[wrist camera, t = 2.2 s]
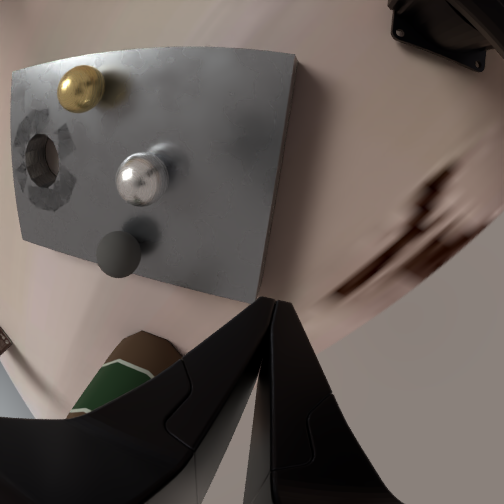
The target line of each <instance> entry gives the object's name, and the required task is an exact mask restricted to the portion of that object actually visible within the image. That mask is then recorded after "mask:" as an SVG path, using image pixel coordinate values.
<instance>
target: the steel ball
mask: <svg viewBox="0 0 504 504" xmlns="http://www.w3.org/2000/svg"><path fill="white" fill-rule="evenodd" d="M168 182H169V175H168V170H167V168H166V166H165V164H164V162H163V161H162V160H161V159H160V158H158V157H157V156H155V155H153V154H150V153H144V152H141V153H136V154H133V155H131V156H129V157H127V158H126V159H125V160H124V161H123V162H122V163H121V165H120V166H119V168H118V170H117V173H116V178H115V183H116V188H117V191H118V193H119V195H120V197H121V198H122V199H123V200H124V201H125V202H127V203H129V204H130V205H133V206H137V207H145V206H149V205H152V204H154V203H155V202H157V201H158V200H159V199H160V198H161V197H162V196H163V195H164V193H165V192H166V189H167V187H168Z"/></svg>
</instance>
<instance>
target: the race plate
mask: <svg viewBox="0 0 504 504" xmlns="http://www.w3.org/2000/svg"><path fill="white" fill-rule="evenodd" d="M297 64H298V60H297V58H296V56H295V54H288V53H280V52H272V51H263V50H253V49H240V48H223V47H159V48H142V49H130V50H120V51H111V52H103V53H96V54H90V55H83V56H77V57H72V58H67V59H62V60H57V61H52V62H48V63H44V64H39V65H35V66H31V67H28V68H24V69H20V70H17V71H14V72H12V86H11V153H12V167H13V178H14V187H15V196H16V203H17V210H18V216H19V222H20V228H21V233H22V238H23V240H25V241H28V242H31V243H34V244H37V245H40V246H43V247H46V248H49V249H52V250H55V251H59V252H62V253H65V254H68V255H71V256H75V257H78V258H81V259H84V260H88V261H91V262H94V263H98V262H97V258H96V250H97V246H98V244H99V242H100V241H101V239H102V238H103V237H104V236H105V235H107V234H108V233H110V232H113V231H124V232H127V233H129V234H131V235H132V236H133V237H134V238H135V239H136V240H137V241H138V243H139V245H140V249H141V260H140V263H139V266H138V267H137V269H136V270H135V271H134V272H133V273H132V274H136V275H139V276H143V277H147V278H150V279H154V280H158V281H162V282H165V283H169V284H173V285H177V286H181V287H184V288H188V289H192V290H196V291H200V292H204V293H208V294H212V295H216V296H220V297H225V298H229V299H233V300H237V301H241V302H246V303H250V304H252V303H253V302H254V301H256V298H257V295H258V292H259V289H260V286H261V282H262V276H263V270H264V265H265V259H266V253H267V247H268V242H269V236H270V230H271V224H272V218H273V213H274V207H275V201H276V195H277V189H278V183H279V177H280V171H281V165H282V159H283V153H284V146H285V140H286V134H287V128H288V122H289V115H290V109H291V103H292V96H293V90H294V83H295V77H296V70H297ZM79 65H90V66H93V67H95V68H97V69H98V70H99V71H100V72H101V73H102V75H103V77H104V80H105V91H104V95H103V97H102V99H101V100H100V102H99V103H98V104H97V105H96V106H95V107H94V108H93V109H91V110H89V111H87V112H84V113H71V112H69V111H67V110H65V109H64V108H63V107H62V106H61V105H60V103H59V101H58V98H57V88H58V84H59V82H60V80H61V78H62V77H63V75H64V74H65V73H66V72H67V71H69V70H70V69H72V68H73V67H76V66H79ZM48 137H49V138H50V139H51V140H52V141H53V142H54V145H55V148H56V150H57V153H58V156H59V172H58V175H57V177H56V176H55V175H54V174H53V173H51V172H50V170H49V167H48V165H47V163H46V160H45V145H46V142H47V139H48ZM141 152H144V153H150V154H153V155H155V156H157V157H158V158H160V159H161V160H162V161H163V162H164V164H165V166H166V168H167V170H168V175H169V182H168V187H167V189H166V192H165V193H164V195H163V196H162V197H161V198H160V199H159V200H158V201H157V202H155V203H154V204H152V205H149V206H145V207H137V206H133V205H130V204H129V203H127V202H125V201H124V200H123V199H122V198H121V197H120V195H119V193H118V191H117V188H116V183H115V178H116V173H117V170H118V168H119V166H120V165H121V163H122V162H123V161H124V160H125V159H126V158H127V157H129V156H131V155H133V154H136V153H141Z"/></svg>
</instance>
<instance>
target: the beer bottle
mask: <svg viewBox="0 0 504 504" xmlns="http://www.w3.org/2000/svg"><path fill="white" fill-rule="evenodd" d="M179 359H182V356H181V355H180V354H179V352H178V351H177V350H176V349H175V348H174V347H173V346H172V345H171V344H170V343H169V342H168V340H166V339H163V338H160V337H158V336H155V335H152V334H149V333H147V332H144V331H140V332H138V333H136V334H133V335H131V336H129V337H126V338H124V339H123V340H122V341H121V342H120V343H119V345H118V346H117V347H116V348H115V349H114V351H113V352H112V353H111V355H110V356H109V357H108V359H107V360H106V362H105V363H104V364H103V366H102V367H101V368H100V370H99V371H98V373H97V374H96V375H95V377H94V378H93V380H92V381H91V382H90V384H89V385H88V387H87V388H86V390H85V391H84V392H83V394H82V395H81V397H80V398H79V400H78V401H77V402H76V404H75V405H74V407H73V408H72V410H71V411H70V413H69V414H68V416H67V418H66V419H69V418H73V417H77V416H80V415H83V414H86V413H88V412H90V411H92V410H94V409H96V408H98V407H100V406H102V405H104V404H106V403H108V402H110V401H112V400H114V399H116V398H118V397H120V396H121V395H123V394H125V393H127V392H129V391H131V390H133V389H135V388H136V387H138V386H140V385H141V384H143V383H145V382H147V381H148V380H150V379H152V378H153V377H155V376H156V375H158V374H159V373H161V372H162V371H164V370H165V369H167V368H168V367H170V366H171V365H172V364H174V363H175V362H176V361H178V360H179Z"/></svg>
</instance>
